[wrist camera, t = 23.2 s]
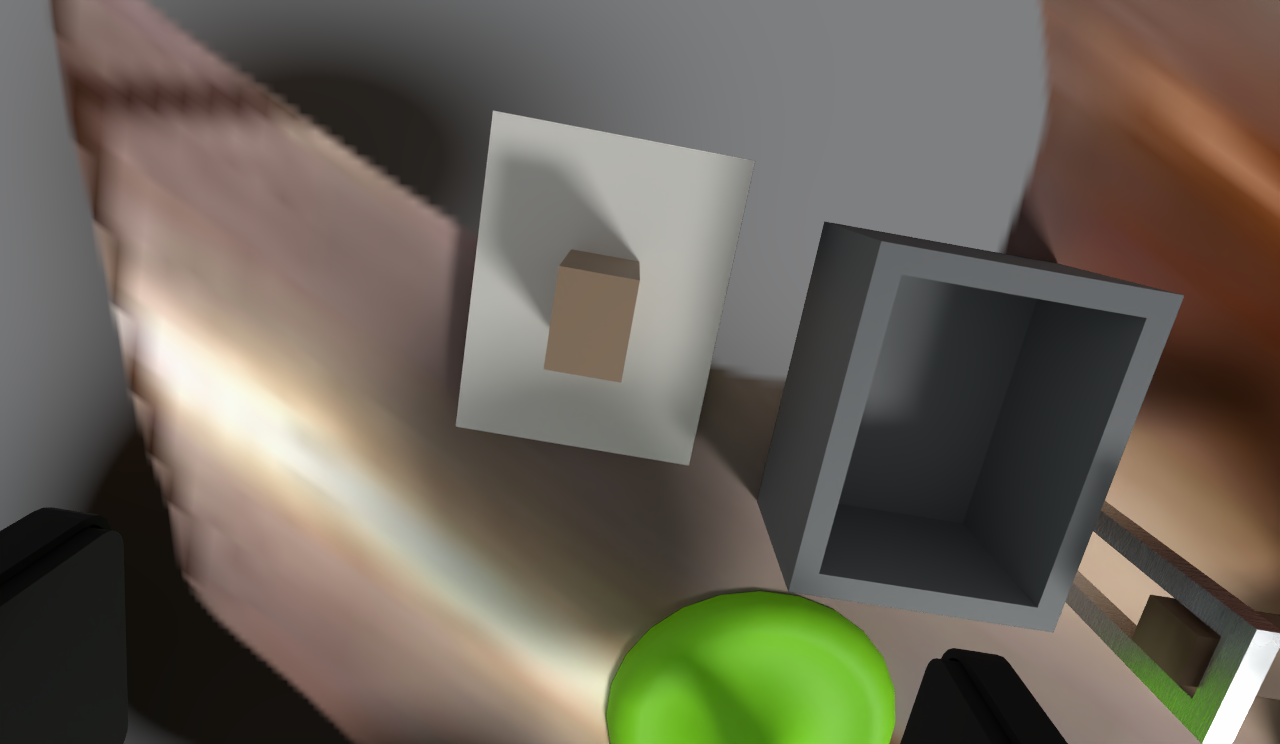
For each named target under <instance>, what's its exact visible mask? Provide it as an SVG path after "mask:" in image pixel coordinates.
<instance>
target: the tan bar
mask: <svg viewBox="0 0 1280 744" xmlns="http://www.w3.org/2000/svg"><path fill="white" fill-rule="evenodd" d="M1255 612H1257V611H1255ZM1257 613H1258V614H1260V615H1261V616H1262V617H1264V618H1265V619H1266V620H1268V621H1269V622H1270V623H1272V624H1273V625H1274V626H1276V627H1277V628H1279V629H1280V615H1276V614H1270V613H1264V612H1257ZM1220 638H1221V636H1220V635H1219V634H1218V633H1217V632H1215V631H1214V630H1213V629H1212V628H1211V627H1209V626H1208V625H1207V624H1206V623H1204V622H1203V621H1202V620H1201V619H1200V618H1198V617H1197V616H1196V615H1195V614H1193V613H1192V612H1191V611H1190V610H1189V609H1187V608H1186V607H1185V606H1184V605H1183V604H1181V603H1180V602H1179V601H1178V600H1176V599H1174V598H1168V597H1162V596H1155V595H1150V597H1149V599H1148V601H1147V604H1146V606H1145V608H1144V611H1143V613H1142V615H1141V618H1140V620H1139V622H1138V625H1137V627H1136V630H1135V632H1134V634H1133V637H1132V639H1131V640H1132V641H1133V642H1134V643H1136V644H1137V645H1138V646H1139V647H1140V648H1141V649H1142V650H1143V651H1144V652H1145V653H1146V654H1147V655H1148V656H1149V657H1150V658H1151V659H1152V660H1153V661H1154V662H1155V663H1156V664H1157V665H1158V666H1159V667H1160V668H1161V669H1162V670H1163V671H1164V672H1165V673H1166V674H1167V675H1168V676H1169V677H1170V678H1171V679H1172V680H1173V681H1174V682H1175V683H1176V684H1179V685H1185V686H1192V687H1198V685H1199V683H1200V681H1201V679H1202V677H1203V675H1204V672H1205V670H1206V668H1207V666H1208V664H1209V662H1210V660H1211V657H1212V655H1213V653H1214V651H1215V649H1216V647H1217V644H1218V642H1219V640H1220ZM1256 696H1258V697H1265V698H1272V699H1278V700H1280V648H1279V650H1278V652H1277V654H1276V656H1275V658H1274V660H1273V662H1272V664H1271V666H1270V668H1269V670H1268V672H1267V674H1266V676H1265V678H1264V680H1263V682H1262V684H1261V686H1260V688H1259V690H1258V692H1257V694H1256Z"/></svg>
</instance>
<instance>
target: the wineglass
mask: <svg viewBox="0 0 1280 744" xmlns="http://www.w3.org/2000/svg"><path fill="white" fill-rule="evenodd" d="M606 719H607V725H608V732H609V739H610V744H889V742H890V739H891V736H892V733H893V729H894V726H895V691H894V686H893V683H892V680H891V678H890V675H889V672H888V669H887V666H886V663H885V661H884V658H883V657H882V655H881V654H880V653H879V651H878V650H877V649H876V647H875V646H874V645H873V643H872V642H871V641H870V639H869V638H868V637H867V635H866V634H865V633H864V631H862V630H861V629H860V628H858V627H857V626H856V625H854V624H853V623H851V622H850V621H849V620H847V619H846V618H845V617H843V616H842V615H841V614H839V613H838V612H837V611H835V610H833V609H831V608H828V607H826V606H823V605H820V604H818V603H815V602H813V601H810V600H808V599H805V598H802V597H800V596H794V595H786V594H779V593H771V592H763V591H756V592H746V593H736V594H726V595H719V596H716V597H713V598H710V599H707V600H704V601H701V602H698V603H695V604H692V605H689V606H687V607H684V608H682V609H680V610H678V611H677V612H675V613H674V614H672V615H671V616H669V617H667V618H666V619H664V620H663V621H661V622H660V623H658V624H656V625H655V626H653V627H652V628H650V629H649V631H648V632H647V633H646V634H645V635H644V636H643V637H642V638H641V639H640V640H639V641H638V642H637V643H636V645H635V646H634V647H633V648H632V649H631V650H630V651H629V652H628V653H627V654H626V656H625V658H624V660H623V662H622V664H621V666H620V668H619V670H618V672H617V674H616V676H615V678H614V680H613V682H612V684H611V689H610V695H609V701H608V707H607V713H606Z"/></svg>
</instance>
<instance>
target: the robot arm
mask: <svg viewBox="0 0 1280 744" xmlns="http://www.w3.org/2000/svg"><path fill="white" fill-rule="evenodd" d="M125 628H126V627H125V587H124V549H123V540H122V537H121V536H120V534H119V533H117V532H116V531H112V529H111V525H110V523H109V521H108V520H107V518H105V517H103V516H101V515H96V514H89V513H83V512H77V511H70V510H64V509H58V508H41V509H39V510H37V511H34V512H32V513H30V514H29V515H27V516H25V517H24V518H22V519H20V520H18V521H17V522H15V523H13V524H12V525H10V526H8V527H7V528H5V529H3V530H1V531H0V744H123V743H124V740H125V737H126V733H127V728H128V709H127V708H128V707H127V706H128V705H127V669H126V668H127V666H126V629H125ZM900 744H1068V743H1067V742H1066V741H1065V739H1064V738H1063V737H1062V735H1061V734H1060V732H1059V731H1058V730H1057V728H1056V727H1055V726H1054V724H1053V723H1052V721H1051V720H1050V719H1049V717H1048V716H1047V715H1046V713H1045V712H1044V710H1043V709H1042V708H1041V706H1040V705H1039V704H1038V702H1037V701H1036V699H1035V698H1034V697H1033V695H1032V694H1031V692H1030V691H1029V690H1028V688H1027V687H1026V686H1025V684H1024V683H1023V681H1022V680H1021V679H1020V677H1019V676H1018V675H1017V673H1016V672H1015V670H1014V669H1013V668H1012V666H1011V665H1010V664H1009V662H1008V661H1007V660H1006V659H1005V658H1004V657H1001V656H999V655H995V654H988V653H982V652H975V651H969V650H963V649H956V648H952V649H949V650H947V651H946V652H945V653H944V654H943V656H942V658H941V659H937V658H936V659H932V660H931V661H930V662H929V664H928V666H927V668H926V671H925V673H924V676H923V679H922V682H921V685H920V688H919V691H918V694H917V697H916V700H915V703H914V705H913V708H912V711H911V714H910V717H909V720H908V723H907V726H906V729H905V732H904V735H903V738H902V740H901V743H900Z"/></svg>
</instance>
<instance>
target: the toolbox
mask: <svg viewBox="0 0 1280 744" xmlns="http://www.w3.org/2000/svg"><path fill="white" fill-rule="evenodd" d="M1183 297H1184V295H1181V294H1177V293H1173V292H1169V291H1165V290H1161V289H1157V288H1153V287H1149V286H1145V285H1141V284H1137V283H1133V282H1129V281H1125V280H1121V279H1117V278H1113V277H1109V276H1105V275H1101V274H1097V273H1093V272H1089V271H1085V270H1081V269H1077V268H1073V267H1070V266H1066V265H1062V264H1057V263H1052V262H1046V261H1041V260H1035V259H1029V258H1024V257H1018V256H1013V255H1007V254H1002V253H996V252H990V251H984V250H979V249H974V248H968V247H963V246H957V245H952V244H946V243H940V242H934V241H929V240H923V239H918V238H912V237H907V236H901V235H896V234H890V233H885V232H879V231H873V230H868V229H862V228H857V227H851V226H846V225H840V224H835V223H829V222H824V226H823V230H822V234H821V238H820V242H819V246H818V251H817V255H816V259H815V263H814V267H813V271H812V275H811V280H810V284H809V288H808V292H807V296H806V300H805V304H804V309H803V313H802V317H801V321H800V325H799V329H798V334H797V338H796V342H795V346H794V350H793V354H792V359H791V363H790V366H789V371H788V375H787V379H786V383H785V387H784V391H783V395H782V400H781V404H780V408H779V412H778V416H777V420H776V424H775V429H774V433H773V437H772V441H771V445H770V449H769V453H768V458H767V462H766V466H765V470H764V474H763V478H762V482H761V487H760V491H759V495H758V499H757V503H758V505H759V508H760V511H761V514H762V517H763V520H764V523H765V526H766V529H767V531H768V534H769V537H770V540H771V543H772V546H773V549H774V552H775V555H776V557H777V560H778V563H779V566H780V569H781V572H782V575H783V578H784V581H785V584H786V586H787V589H788V592H792V593H799V594H805V595H812V596H818V597H825V598H831V599H838V600H844V601H851V602H858V603H864V604H871V605H877V606H884V607H890V608H897V609H903V610H910V611H916V612H923V613H929V614H936V615H942V616H949V617H955V618H962V619H968V620H975V621H982V622H988V623H995V624H1001V625H1008V626H1014V627H1021V628H1027V629H1034V630H1040V631H1047V632H1054V630H1055V627H1056V624H1057V622H1058V619H1059V617H1060V614H1061V612H1062V609H1063V606H1064V604H1065V602H1066V603H1067V604H1068V605H1069V606H1070V607H1071V608H1072V609H1073V610H1074V611H1075V612H1076V613H1077V614H1078V615H1079V616H1080V617H1081V619H1082V620H1083V621H1084V622H1085V623H1086V624H1087V625H1088V626H1089V627H1090V628H1091V629H1092V630H1093V631H1094V632H1095V633H1096V634H1097V635H1098V636H1099V637H1100V638H1101V639H1102V640H1103V641H1104V642H1105V643H1106V645H1107V646H1108V647H1109V648H1110V649H1111V650H1112V651H1113V652H1114V653H1115V654H1116V655H1117V656H1118V657H1119V658H1120V659H1121V660H1122V661H1123V662H1124V663H1125V664H1126V665H1127V666H1128V667H1129V668H1130V669H1131V671H1132V672H1133V673H1134V674H1135V675H1136V676H1137V677H1138V678H1139V679H1140V680H1141V681H1142V682H1143V683H1144V684H1145V685H1146V686H1147V687H1148V688H1149V689H1150V690H1151V691H1152V692H1153V693H1154V694H1155V695H1156V697H1157V698H1158V699H1159V700H1160V701H1161V702H1162V703H1163V704H1164V705H1165V706H1166V707H1167V708H1168V709H1169V710H1170V711H1171V712H1172V713H1173V714H1174V715H1175V716H1176V717H1177V718H1178V719H1179V720H1180V721H1181V722H1182V724H1183V725H1184V726H1185V727H1186V728H1187V729H1188V730H1189V731H1190V732H1191V733H1192V734H1193V735H1194V736H1195V737H1196V738H1197V739H1198V740H1199V741H1200V742H1201V743H1202V744H1232V743H1233V741H1234V739H1235V737H1236V735H1237V733H1238V731H1239V729H1240V727H1241V725H1242V723H1243V721H1244V719H1245V717H1246V715H1247V713H1248V711H1249V709H1250V707H1251V705H1252V703H1253V701H1254V699H1255V697H1256V694H1257V692H1258V690H1259V688H1260V686H1261V684H1262V682H1263V680H1264V678H1265V676H1266V674H1267V672H1268V670H1269V668H1270V666H1271V664H1272V662H1273V660H1274V658H1275V656H1276V654H1277V652H1278V650H1279V648H1280V629H1279V628H1277V627H1276V626H1274V625H1273V624H1272V623H1270V622H1269V621H1268V620H1266V619H1265V618H1264V617H1262V616H1261V615H1260V614H1258V613H1257V612H1255V611H1254V610H1253V609H1251V608H1250V607H1249V606H1247V605H1246V604H1245V603H1243V602H1242V601H1240V600H1239V599H1238V598H1236V597H1235V596H1234V595H1232V594H1231V593H1230V592H1228V591H1227V590H1226V589H1224V588H1223V587H1221V586H1220V585H1219V584H1217V583H1216V582H1215V581H1213V580H1212V579H1211V578H1209V577H1208V576H1206V575H1205V574H1204V573H1202V572H1201V571H1200V570H1198V569H1197V568H1196V567H1194V566H1193V565H1192V564H1190V563H1189V562H1187V561H1186V560H1185V559H1183V558H1182V557H1181V556H1179V555H1178V554H1177V553H1175V552H1174V551H1172V550H1171V549H1170V548H1168V547H1167V546H1166V545H1164V544H1163V543H1162V542H1160V541H1159V540H1158V539H1156V538H1155V537H1153V536H1152V535H1151V534H1149V533H1148V532H1147V531H1145V530H1144V529H1143V528H1141V527H1140V526H1138V525H1137V524H1136V523H1134V522H1133V521H1132V520H1130V519H1129V518H1128V517H1126V516H1125V515H1124V514H1122V513H1121V512H1119V511H1118V510H1117V509H1115V508H1114V507H1113V506H1111V505H1110V504H1109V503H1107V502H1106V501H1105V498H1106V496H1107V493H1108V490H1109V488H1110V485H1111V483H1112V480H1113V478H1114V475H1115V472H1116V470H1117V467H1118V465H1119V462H1120V460H1121V457H1122V454H1123V452H1124V449H1125V447H1126V444H1127V442H1128V439H1129V436H1130V434H1131V431H1132V429H1133V426H1134V424H1135V421H1136V418H1137V416H1138V413H1139V411H1140V408H1141V406H1142V403H1143V400H1144V398H1145V395H1146V393H1147V390H1148V388H1149V385H1150V382H1151V380H1152V377H1153V375H1154V372H1155V369H1156V367H1157V364H1158V362H1159V359H1160V357H1161V354H1162V351H1163V349H1164V346H1165V344H1166V341H1167V339H1168V336H1169V333H1170V331H1171V328H1172V326H1173V323H1174V321H1175V318H1176V315H1177V313H1178V310H1179V308H1180V305H1181V303H1182V300H1183ZM1093 531H1094V532H1095V533H1096V534H1097V535H1098V536H1100V537H1101V538H1102V539H1103V540H1105V541H1106V542H1107V543H1108V544H1109V545H1111V546H1112V547H1113V548H1114V549H1116V550H1117V551H1118V552H1119V553H1120V554H1122V555H1123V556H1124V557H1125V558H1127V559H1128V560H1129V561H1130V562H1131V563H1133V564H1134V565H1135V566H1136V567H1137V568H1139V569H1140V570H1141V571H1142V572H1144V573H1145V574H1146V575H1147V576H1148V577H1150V578H1151V579H1152V580H1153V581H1155V582H1156V583H1157V584H1158V585H1159V586H1161V587H1162V588H1163V589H1164V590H1165V591H1167V592H1168V593H1169V594H1170V595H1172V596H1173V597H1174V598H1175V599H1176V600H1178V601H1179V602H1180V603H1181V604H1183V605H1184V606H1185V607H1186V608H1187V609H1189V610H1190V611H1191V612H1192V613H1193V614H1195V615H1196V616H1197V617H1198V618H1200V619H1201V620H1202V621H1203V622H1204V623H1206V624H1207V625H1208V626H1209V627H1211V628H1212V629H1213V630H1214V631H1215V632H1217V633H1218V634H1219V635H1220V636H1221V638H1220V640H1219V642H1218V644H1217V647H1216V649H1215V651H1214V653H1213V655H1212V657H1211V660H1210V662H1209V664H1208V666H1207V668H1206V670H1205V672H1204V675H1203V677H1202V679H1201V681H1200V683H1199V685H1198V687H1192V686H1185V685H1179V684H1176V683H1175V682H1174V681H1173V680H1172V679H1171V678H1170V677H1169V676H1168V675H1167V674H1166V673H1165V672H1164V671H1163V670H1162V669H1161V668H1160V667H1159V666H1158V665H1157V664H1156V663H1155V662H1154V661H1153V660H1152V659H1151V658H1150V657H1149V656H1148V655H1147V654H1146V653H1145V652H1144V651H1143V650H1142V649H1141V648H1140V647H1139V646H1138V645H1137V644H1136V643H1134V642H1133V641H1132V640H1131V639H1132V637H1133V634H1134V632H1135V630H1136V627H1137V626H1136V625H1135V624H1134V623H1133V622H1132V621H1131V620H1130V619H1129V618H1128V617H1127V616H1126V615H1125V614H1124V613H1123V612H1122V611H1120V610H1119V609H1118V608H1117V607H1116V606H1115V605H1114V604H1113V603H1112V602H1111V601H1110V600H1109V599H1108V598H1107V597H1106V596H1104V595H1103V594H1102V593H1101V592H1100V591H1099V590H1098V589H1097V588H1096V587H1095V586H1094V585H1093V584H1092V583H1091V582H1090V581H1089V580H1087V579H1086V578H1085V577H1084V576H1083V575H1082V574H1081V573H1080V572H1079V571H1078V568H1079V565H1080V563H1081V560H1082V557H1083V555H1084V552H1085V550H1086V547H1087V545H1088V542H1089V539H1090V537H1091V534H1092V532H1093Z"/></svg>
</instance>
